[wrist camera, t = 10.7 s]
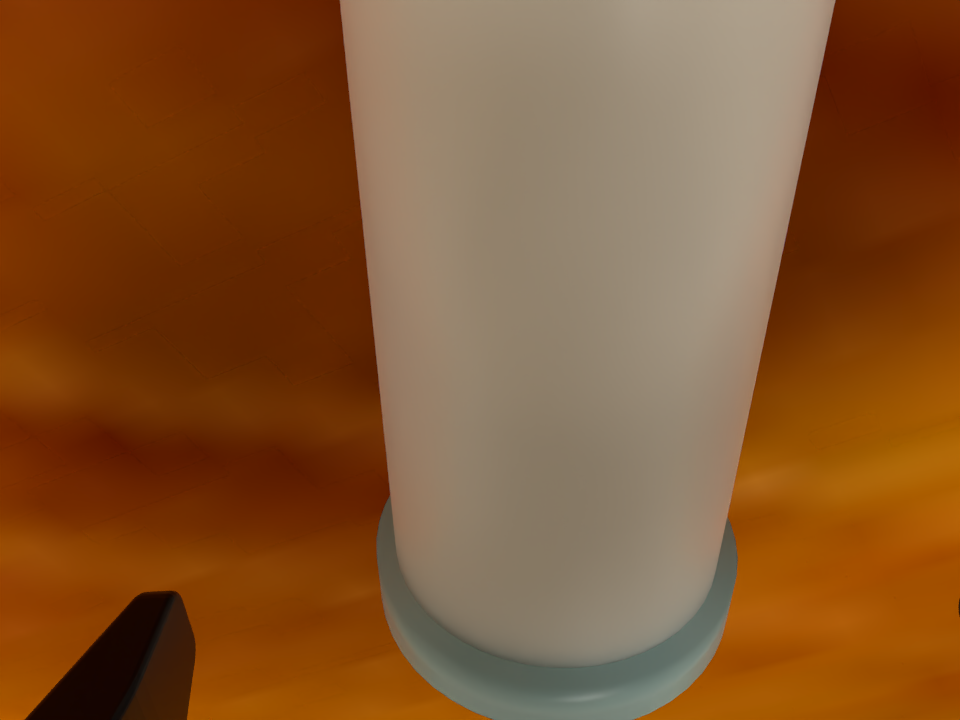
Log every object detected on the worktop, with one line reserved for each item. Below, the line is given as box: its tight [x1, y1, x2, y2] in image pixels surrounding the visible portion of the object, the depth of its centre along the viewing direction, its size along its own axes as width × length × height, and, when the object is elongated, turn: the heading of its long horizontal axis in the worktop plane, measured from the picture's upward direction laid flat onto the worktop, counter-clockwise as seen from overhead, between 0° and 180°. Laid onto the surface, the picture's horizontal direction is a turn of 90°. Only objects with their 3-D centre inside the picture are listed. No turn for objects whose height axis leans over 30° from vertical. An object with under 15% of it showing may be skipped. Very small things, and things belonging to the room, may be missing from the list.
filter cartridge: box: [340, 0, 835, 720], centre depth 9 cm, size 6×18×6 cm, turn 1°
